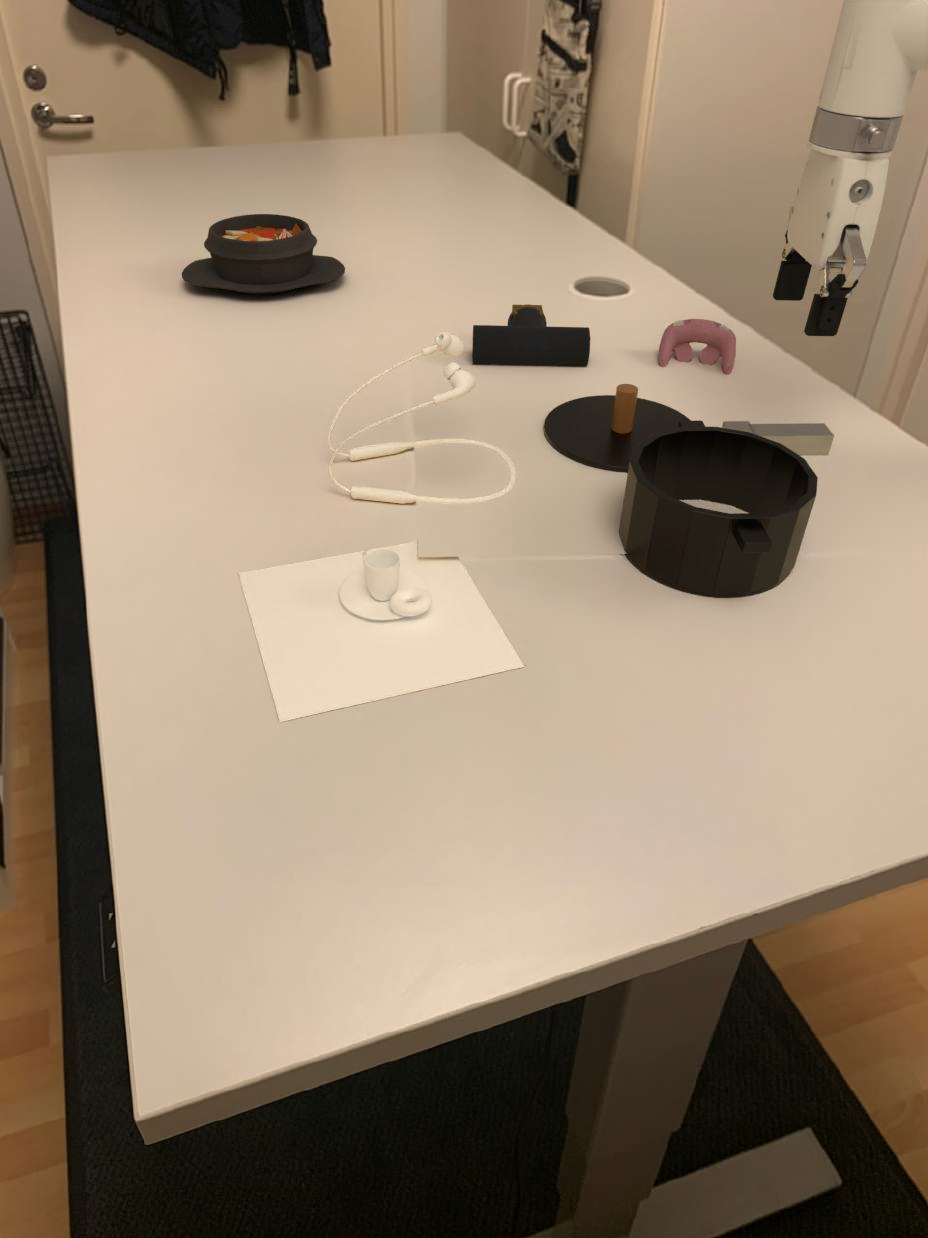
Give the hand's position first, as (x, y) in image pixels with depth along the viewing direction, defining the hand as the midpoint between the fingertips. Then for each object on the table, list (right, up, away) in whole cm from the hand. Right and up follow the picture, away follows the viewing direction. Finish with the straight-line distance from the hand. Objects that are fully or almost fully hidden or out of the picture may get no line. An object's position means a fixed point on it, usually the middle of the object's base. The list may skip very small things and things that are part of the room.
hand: (802, 316), depth 94 cm
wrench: (0, -13, +9) cm, 15 cm away
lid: (-17, -10, +11) cm, 22 cm away
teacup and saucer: (-43, -31, -15) cm, 55 cm away
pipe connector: (-27, +4, +29) cm, 40 cm away
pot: (-12, -24, -6) cm, 28 cm away
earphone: (-39, -16, +3) cm, 43 cm away
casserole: (-66, +21, +48) cm, 85 cm away
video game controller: (-4, +2, +27) cm, 28 cm away
